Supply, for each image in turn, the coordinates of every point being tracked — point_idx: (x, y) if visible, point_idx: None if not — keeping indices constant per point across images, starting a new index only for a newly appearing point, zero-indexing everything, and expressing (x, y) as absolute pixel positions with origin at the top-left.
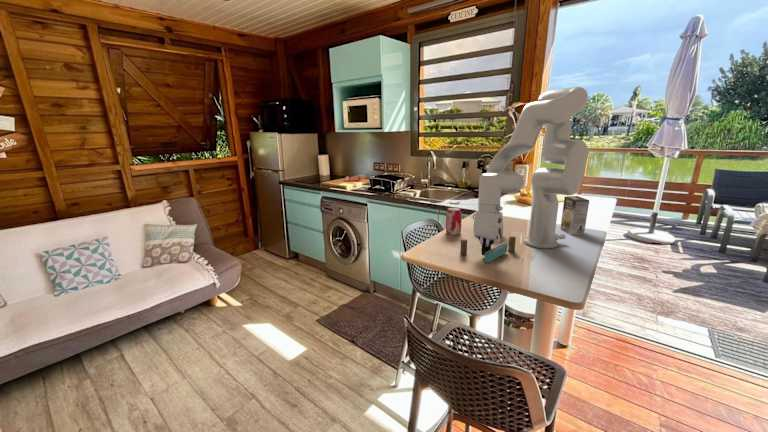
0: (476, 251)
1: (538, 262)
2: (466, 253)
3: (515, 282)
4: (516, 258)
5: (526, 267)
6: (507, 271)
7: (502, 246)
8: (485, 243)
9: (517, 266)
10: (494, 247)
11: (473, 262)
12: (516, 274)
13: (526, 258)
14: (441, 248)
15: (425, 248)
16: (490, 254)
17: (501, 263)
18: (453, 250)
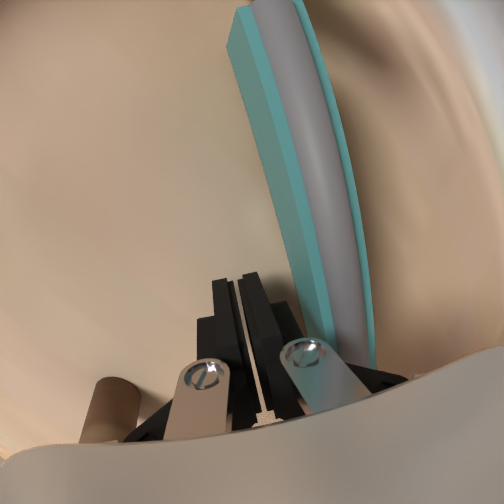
0: (84, 274)
1: (486, 46)
2: (133, 397)
3: (496, 343)
4: (397, 80)
5: (495, 176)
6: (457, 313)
7: (346, 147)
8: (252, 406)
9: (468, 210)
10: (344, 314)
11: (265, 410)
12: (489, 295)
13: (426, 27)
14: (5, 412)
15: (8, 450)
16: None
17: (392, 268)
18: (35, 391)
